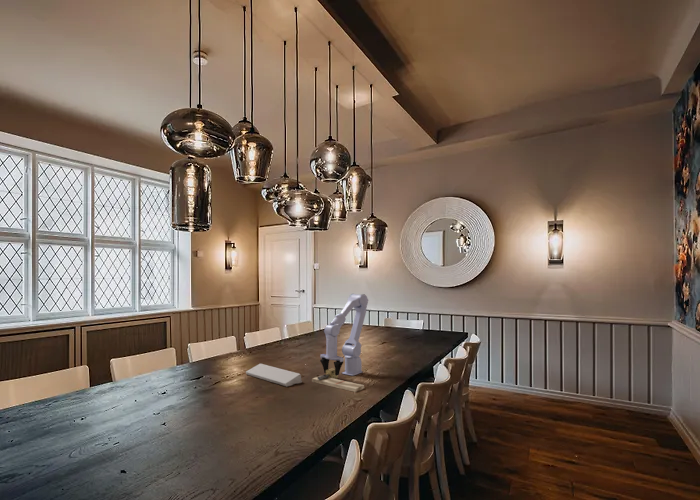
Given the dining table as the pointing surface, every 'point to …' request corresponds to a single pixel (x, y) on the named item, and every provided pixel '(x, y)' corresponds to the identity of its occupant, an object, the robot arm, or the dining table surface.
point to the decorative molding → (275, 375)
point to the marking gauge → (329, 374)
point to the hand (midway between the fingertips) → (331, 373)
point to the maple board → (339, 384)
